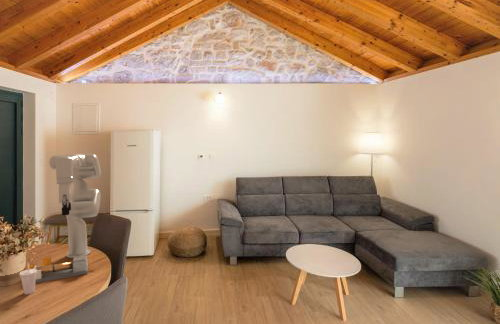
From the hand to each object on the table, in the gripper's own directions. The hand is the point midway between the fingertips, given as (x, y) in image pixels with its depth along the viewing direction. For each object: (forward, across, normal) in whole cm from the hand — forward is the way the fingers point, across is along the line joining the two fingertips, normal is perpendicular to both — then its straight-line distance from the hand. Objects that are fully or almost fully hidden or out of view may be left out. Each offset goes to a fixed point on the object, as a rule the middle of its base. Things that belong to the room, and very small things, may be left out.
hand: (66, 212), depth 159 cm
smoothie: (+31, +20, -14) cm, 39 cm away
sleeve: (+29, +7, +6) cm, 30 cm away
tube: (+28, +7, -5) cm, 29 cm away
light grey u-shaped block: (+29, +7, -13) cm, 32 cm away
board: (+30, +7, -3) cm, 31 cm away
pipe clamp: (+31, 0, -14) cm, 33 cm away
